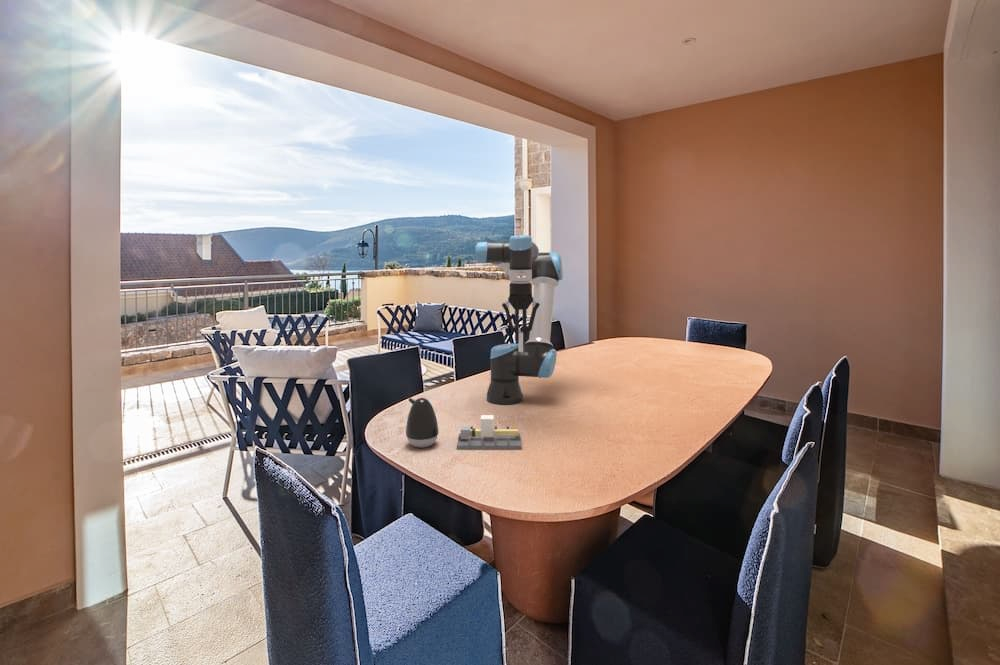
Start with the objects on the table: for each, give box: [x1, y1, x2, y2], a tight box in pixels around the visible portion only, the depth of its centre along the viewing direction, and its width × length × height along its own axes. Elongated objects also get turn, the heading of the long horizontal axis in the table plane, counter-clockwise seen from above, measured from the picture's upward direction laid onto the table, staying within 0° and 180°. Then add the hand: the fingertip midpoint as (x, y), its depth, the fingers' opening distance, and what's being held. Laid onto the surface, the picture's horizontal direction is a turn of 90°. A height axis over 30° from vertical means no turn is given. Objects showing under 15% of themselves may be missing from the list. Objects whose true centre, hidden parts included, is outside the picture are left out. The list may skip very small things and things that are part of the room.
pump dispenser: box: [405, 397, 439, 449], centre depth 153 cm, size 10×10×15 cm
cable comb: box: [456, 425, 523, 450], centre depth 155 cm, size 20×11×5 cm, turn 90°
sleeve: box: [480, 414, 495, 437], centre depth 155 cm, size 4×4×6 cm
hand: (520, 350), depth 168 cm, fingers closed
